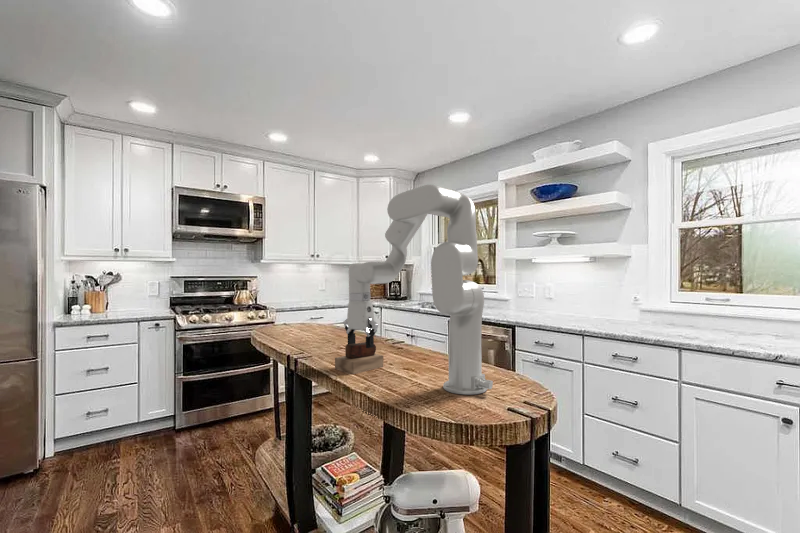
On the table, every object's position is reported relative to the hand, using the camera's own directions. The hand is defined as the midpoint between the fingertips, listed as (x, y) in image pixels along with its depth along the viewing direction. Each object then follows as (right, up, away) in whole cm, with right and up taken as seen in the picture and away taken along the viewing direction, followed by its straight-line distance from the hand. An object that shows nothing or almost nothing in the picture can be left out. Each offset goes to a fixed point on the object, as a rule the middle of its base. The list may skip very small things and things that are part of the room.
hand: (360, 346), depth 143 cm
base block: (0, -8, 0) cm, 8 cm away
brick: (0, -4, +1) cm, 4 cm away
